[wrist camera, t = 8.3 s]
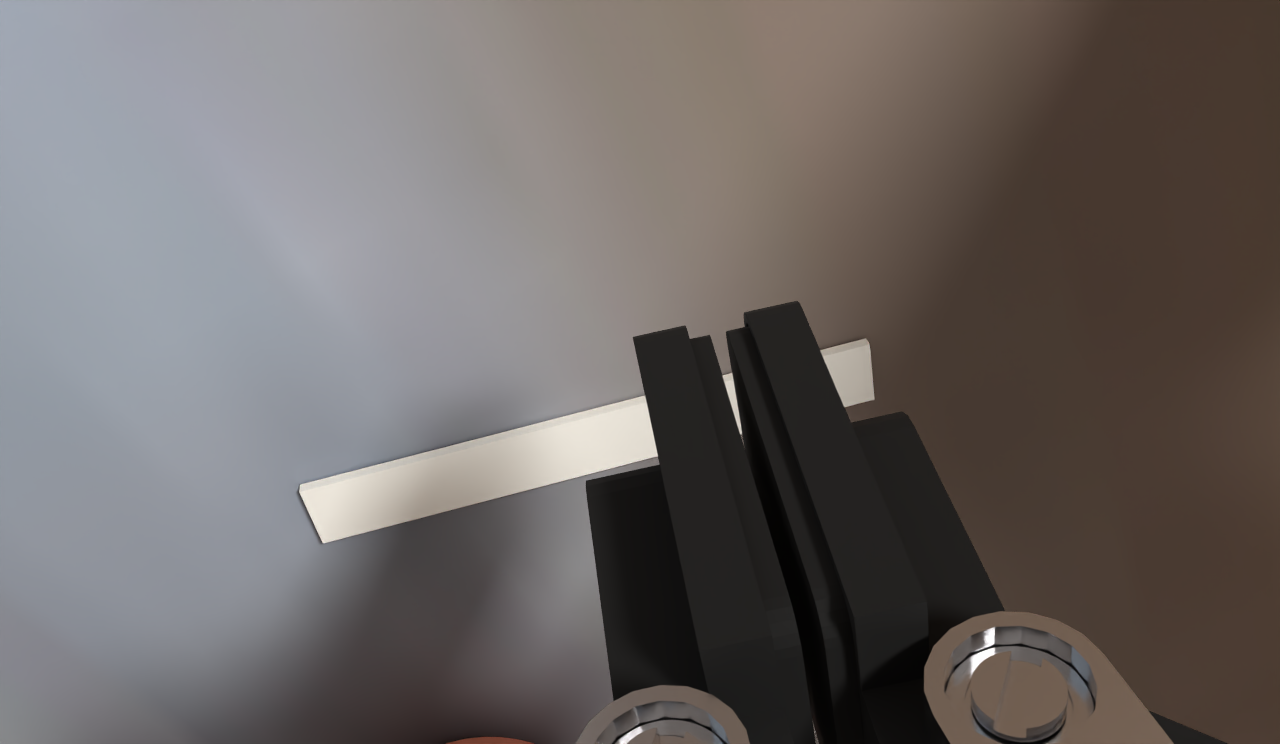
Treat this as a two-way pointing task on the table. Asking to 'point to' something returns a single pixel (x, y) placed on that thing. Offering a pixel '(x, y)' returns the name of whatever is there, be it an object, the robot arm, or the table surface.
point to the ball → (490, 741)
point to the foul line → (521, 458)
